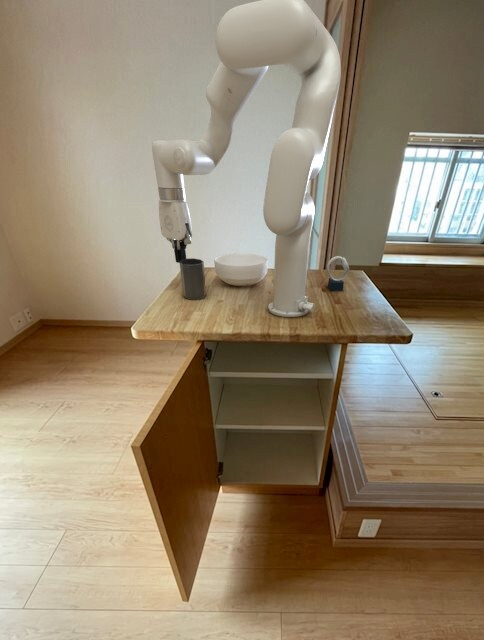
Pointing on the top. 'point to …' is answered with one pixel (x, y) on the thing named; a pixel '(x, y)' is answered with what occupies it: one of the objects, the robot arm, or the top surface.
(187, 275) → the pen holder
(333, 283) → the black block with loop
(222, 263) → the bowl
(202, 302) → the top surface
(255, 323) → the top surface
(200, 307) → the top surface
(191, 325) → the top surface
